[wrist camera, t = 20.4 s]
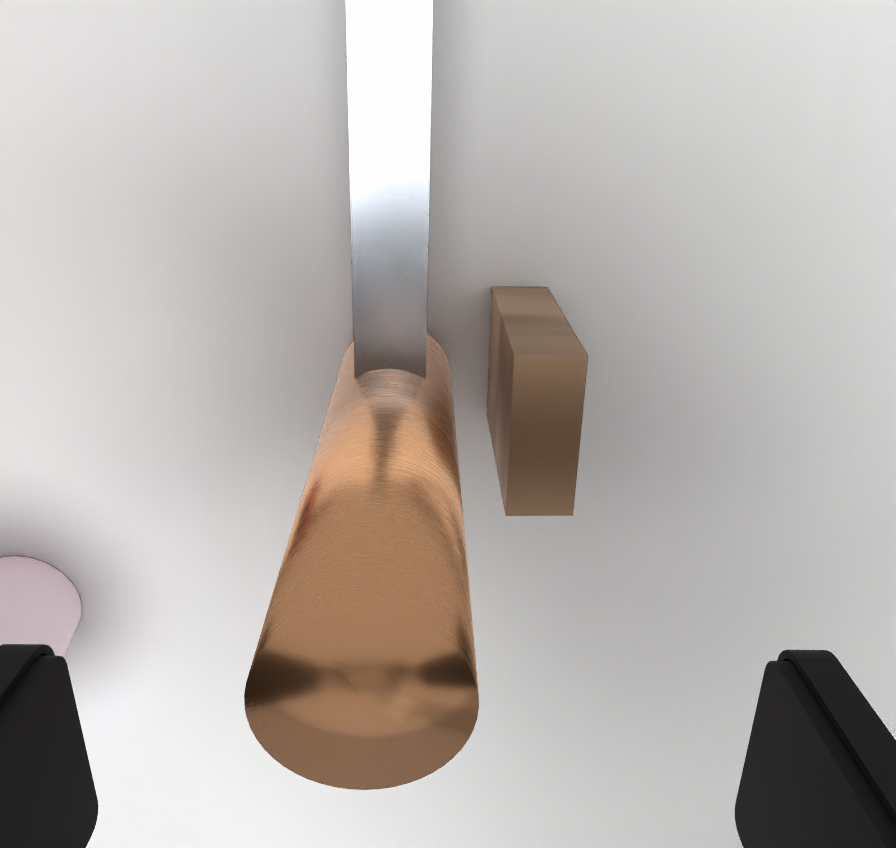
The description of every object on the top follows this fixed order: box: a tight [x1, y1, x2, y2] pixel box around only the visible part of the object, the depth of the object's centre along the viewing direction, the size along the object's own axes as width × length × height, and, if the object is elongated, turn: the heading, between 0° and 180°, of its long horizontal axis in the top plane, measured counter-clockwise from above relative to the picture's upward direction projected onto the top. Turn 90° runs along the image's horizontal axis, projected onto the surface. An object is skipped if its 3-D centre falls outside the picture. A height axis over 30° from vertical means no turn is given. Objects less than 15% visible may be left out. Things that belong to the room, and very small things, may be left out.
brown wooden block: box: [487, 287, 588, 516], centre depth 20 cm, size 4×2×6 cm, turn 179°
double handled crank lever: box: [244, 0, 479, 790], centre depth 13 cm, size 17×3×13 cm, turn 178°
